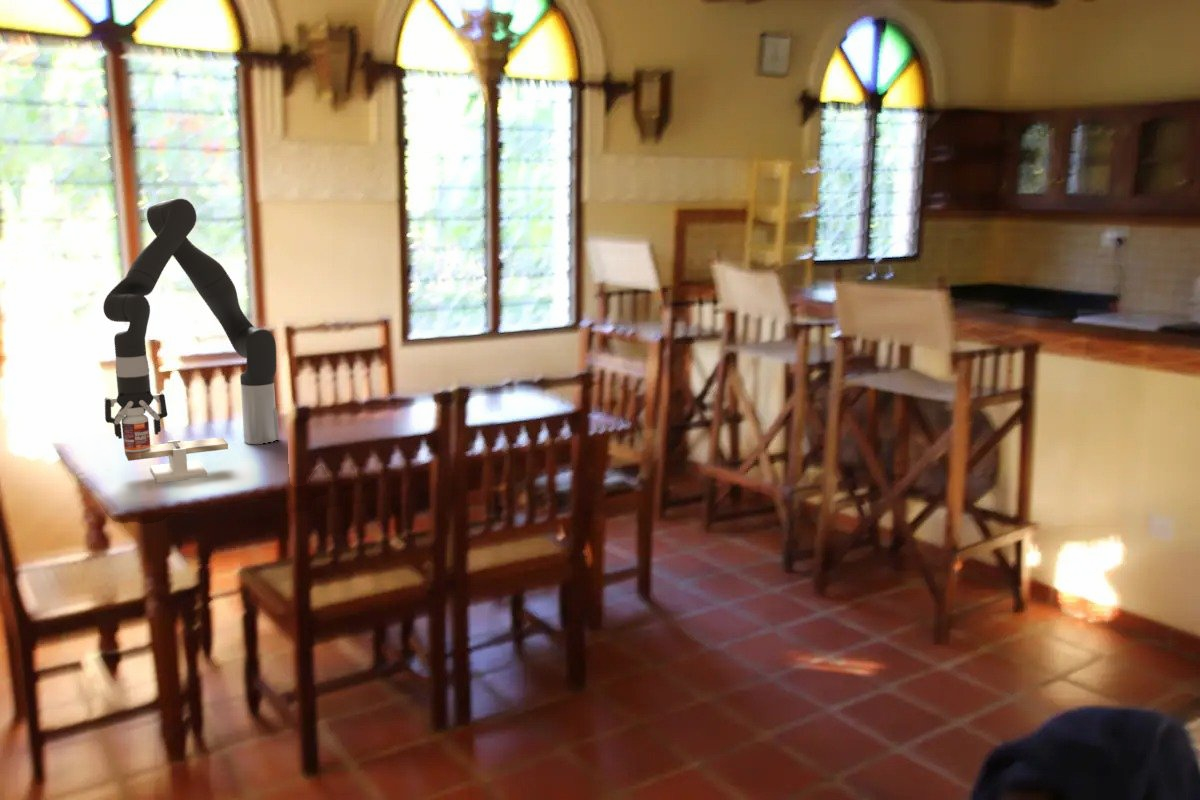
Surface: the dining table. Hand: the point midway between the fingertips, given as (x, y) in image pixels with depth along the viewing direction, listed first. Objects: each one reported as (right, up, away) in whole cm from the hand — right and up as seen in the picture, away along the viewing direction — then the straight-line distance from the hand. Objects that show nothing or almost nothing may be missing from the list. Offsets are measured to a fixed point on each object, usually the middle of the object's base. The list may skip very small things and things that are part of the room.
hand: (138, 436), depth 266 cm
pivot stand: (+8, -10, +7) cm, 14 cm away
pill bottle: (0, -4, +1) cm, 4 cm away
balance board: (+8, -3, +5) cm, 10 cm away
